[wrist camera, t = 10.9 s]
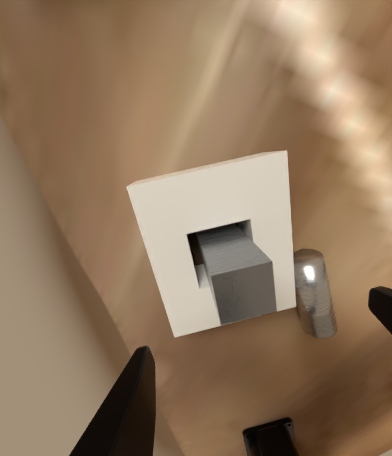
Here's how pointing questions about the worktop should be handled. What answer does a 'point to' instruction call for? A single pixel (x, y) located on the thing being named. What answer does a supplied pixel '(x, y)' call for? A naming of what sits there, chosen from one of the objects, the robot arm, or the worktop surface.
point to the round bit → (313, 294)
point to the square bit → (237, 274)
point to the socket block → (209, 218)
